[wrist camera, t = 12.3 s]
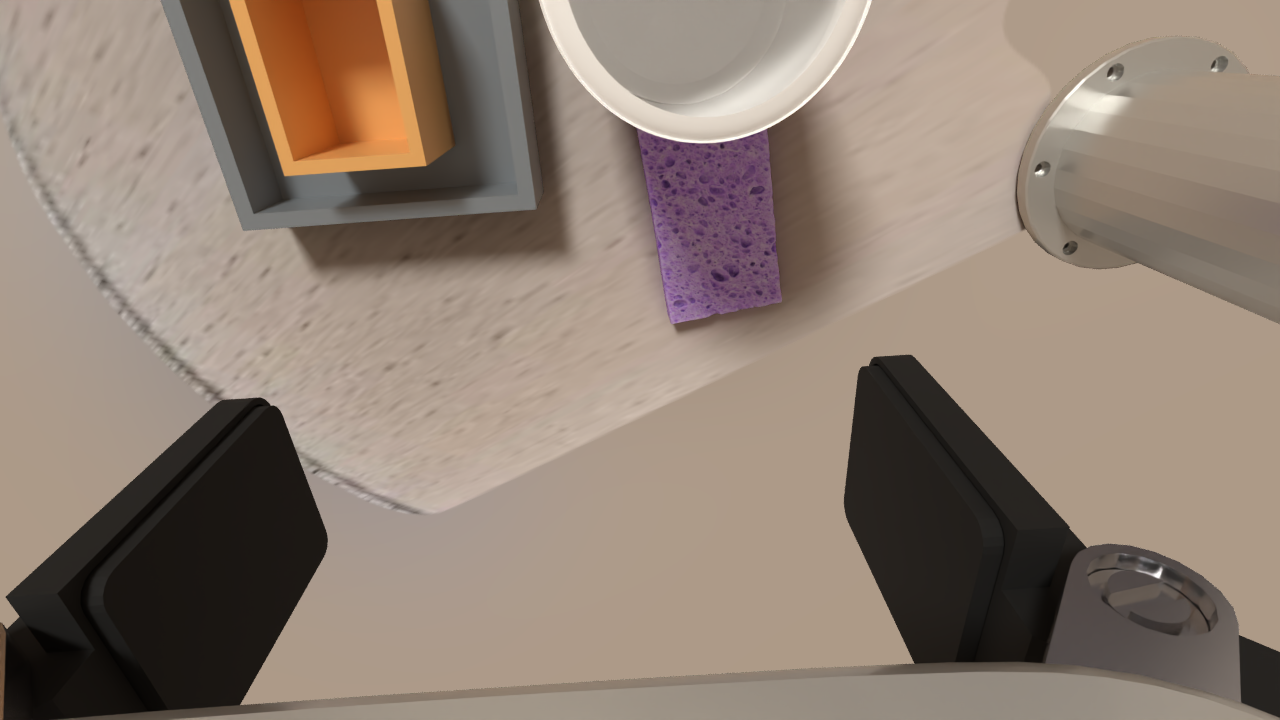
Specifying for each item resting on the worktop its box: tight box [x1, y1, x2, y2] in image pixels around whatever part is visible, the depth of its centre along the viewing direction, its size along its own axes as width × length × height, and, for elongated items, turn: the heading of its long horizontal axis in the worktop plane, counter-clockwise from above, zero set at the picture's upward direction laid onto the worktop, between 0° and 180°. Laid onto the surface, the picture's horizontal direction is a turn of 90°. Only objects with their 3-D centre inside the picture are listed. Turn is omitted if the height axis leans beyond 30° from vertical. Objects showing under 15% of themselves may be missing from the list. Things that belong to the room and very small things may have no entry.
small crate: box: [229, 0, 455, 176], centre depth 29 cm, size 6×9×6 cm
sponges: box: [636, 128, 782, 324], centre depth 36 cm, size 7×13×2 cm, turn 10°
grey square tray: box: [161, 0, 544, 231], centre depth 31 cm, size 15×15×4 cm
